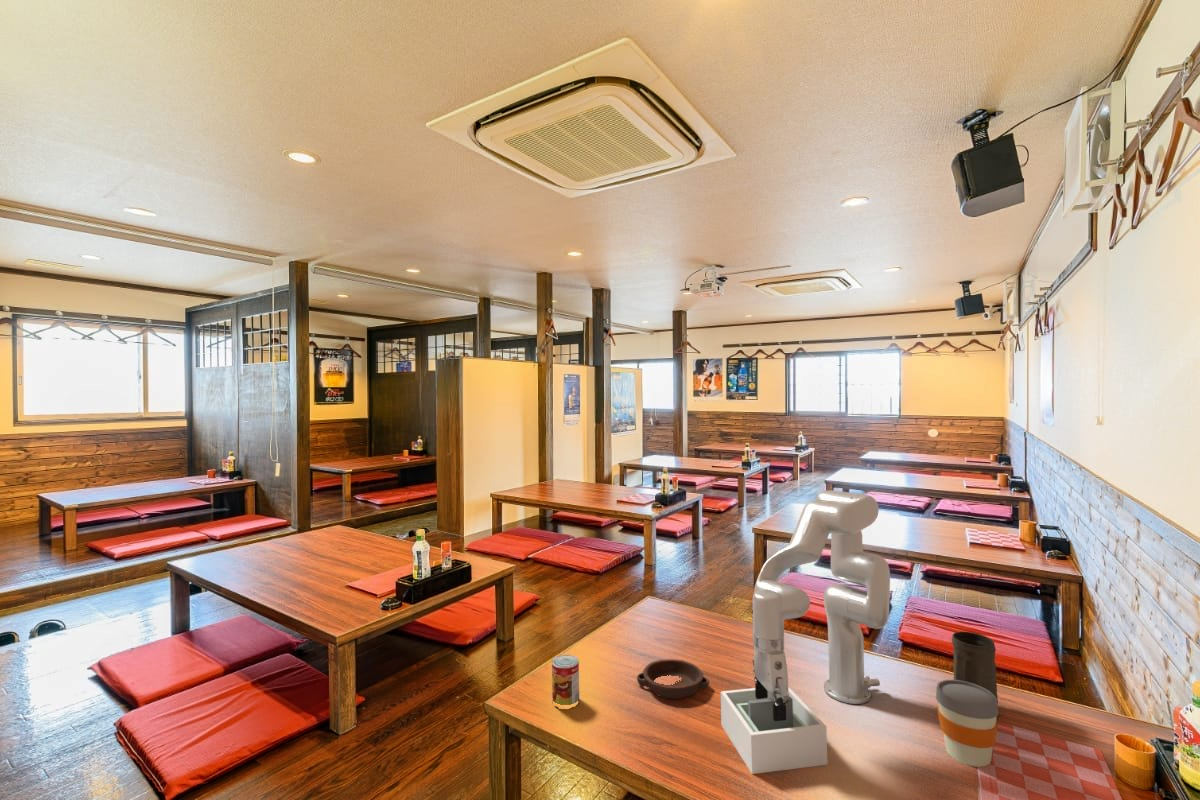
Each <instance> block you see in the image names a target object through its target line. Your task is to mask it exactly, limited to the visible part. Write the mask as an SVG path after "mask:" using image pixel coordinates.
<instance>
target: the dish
mask: <svg viewBox="0 0 1200 800" xmlns="http://www.w3.org/2000/svg"><path fill="white" fill-rule="evenodd" d="M667 675H668V676H669V675H671V676H679V678H680V677H681V678H682V679H681V681H680V680H679V682H678V681H676V682H677V683H676V682H675V684H673V685H672V684H671V685H664V684H659V683H656V682H654V680H655V679H656V678H658V677H661V676H667ZM636 680H637V683H638V684H639V685H640V686H643V687H647V688H648V687H649V688H648V689H649V690H650V689H651V690H652V691H653V692H654V693H653V692H652V691H651V690H650V691H651V692H652V693H653V694H655V695H656V694H657V696H658V695H660V696H659V697H661V696H662V697H661V698H664V697H665V698H664V699H669V698H671V699H672V700H677V699H678V700H680V698H681V699H684V698H687V697H690V696H691V695H693V694H694V693H696V691H697V690H700V689H707V688H709V686H710V680H709V679H708V678H707V677H706V676H705V677H704V673H703V671H702V670H701V669H700V668H699V667H698V666H696V665H695V664H693V663H691V662H689V661H686V660H682V659H681V660H680V659H672V658H671V659H668V658H667V659H659V660H655V661H652V662H650V663H648V664H647V665H646V666H645V667H644V669H643V670H642V672H641V673H638V674H637V676H636ZM671 699H670V700H671Z"/></svg>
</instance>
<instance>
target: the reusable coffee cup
mask: <svg viewBox="0 0 1200 800" xmlns="http://www.w3.org/2000/svg"><path fill="white" fill-rule="evenodd" d="M935 693H936V694H935V698H936V701H937V703H938V706H937V709H936V710H937V715H938V721H939V727H940V730H941V731H942V734H943V738H944V740H943V741H944V745H945V750H946V752H947V754H948V755H949V756H951V758H953V759H954V760H956V761H957V762H960V763H962V764H965V765H967V766H970V767H975V768H977V767H978V768H981V767H980V766H986V765H988V764H989V765H990V764H991V763H990V762H992V756H993V755H992V754H993V747H994V746H995V745H996V742H997V734H998V726H999V725H998V721H997V718H998V717H999V716H998V714H999V715H1000V710H999V704H997V699H998V697H997V698H996V697H995V695H994V694H993V693H991V692H990V691H988V690H987V689H985V688H983V687H981V686H978V685H976V684H973V683H969V682H965V681H960V680H954V679H943V680H940V681H938V682H937V684H936V691H935ZM998 710H999V711H998ZM997 716H998V717H997ZM989 765H988V766H989ZM986 767H987V766H986Z"/></svg>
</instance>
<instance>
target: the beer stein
mask: <svg viewBox="0 0 1200 800" xmlns="http://www.w3.org/2000/svg"><path fill="white" fill-rule="evenodd" d="M951 644H952V647H953V680H960V681H965V682H969V683H973V684H976V685H978V686H981V687H983V688H985V689H987V690H988V691H990V692H991V693H993V694H994V695H995V697H996V698H997V705H999V699H998V686H997V685H998V684H997V664H996V651H997V650H996V646H995V642H994V641H993V639H991V638H990V637H988V636H986V635H984V634H980V633H976V632H970V631H957V632H953V634H952V638H951ZM998 711H999V712H1000V710H999V709H998ZM999 716H1000V713H999V714H998V716H997V718H998V717H999Z"/></svg>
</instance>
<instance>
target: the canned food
mask: <svg viewBox="0 0 1200 800" xmlns="http://www.w3.org/2000/svg"><path fill="white" fill-rule="evenodd" d="M579 666H580V660H579V658H578V657H577V656H575V655H571V654H562V655H557V656H555V657H554V658H553V659H552V661H551V683H552V684H551V687H552V693H551V695H552V698H553V699H552V702H553V701H554V702H555V703H557V704H560V705H571V704H574V703H576V702H577V701H578V700H579V701H580V667H579Z"/></svg>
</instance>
